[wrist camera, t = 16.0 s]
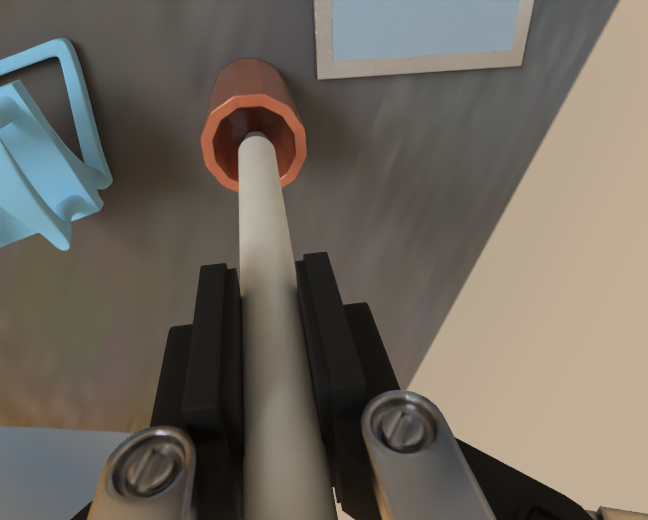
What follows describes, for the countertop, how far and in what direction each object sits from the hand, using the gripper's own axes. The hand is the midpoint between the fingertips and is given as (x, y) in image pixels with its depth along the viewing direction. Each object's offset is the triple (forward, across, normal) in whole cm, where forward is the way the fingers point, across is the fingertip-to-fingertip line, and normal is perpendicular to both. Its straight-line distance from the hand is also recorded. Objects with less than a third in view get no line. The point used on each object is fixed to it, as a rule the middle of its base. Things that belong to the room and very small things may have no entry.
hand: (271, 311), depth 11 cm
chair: (+21, +12, +1) cm, 24 cm away
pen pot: (+20, 0, 0) cm, 20 cm away
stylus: (+9, 0, -1) cm, 9 cm away
